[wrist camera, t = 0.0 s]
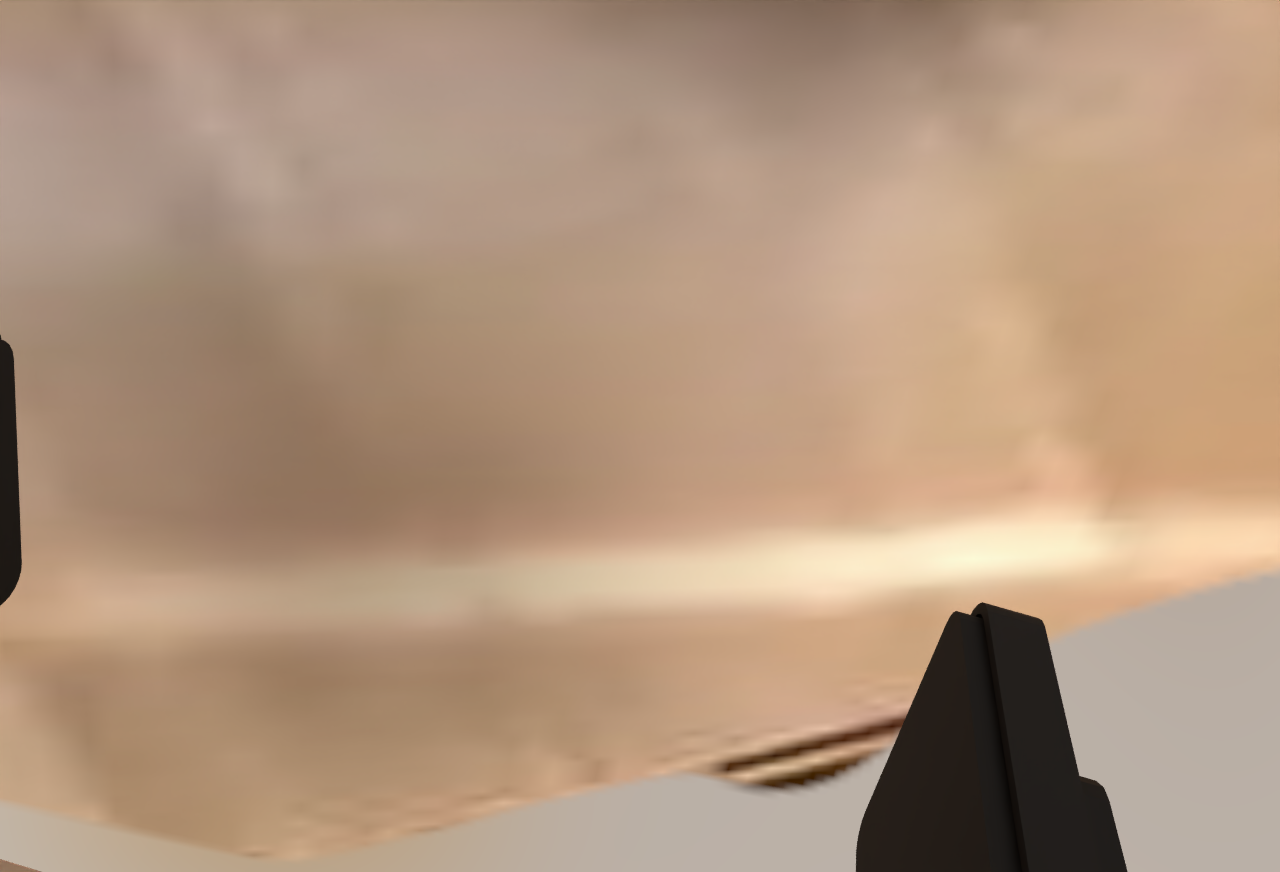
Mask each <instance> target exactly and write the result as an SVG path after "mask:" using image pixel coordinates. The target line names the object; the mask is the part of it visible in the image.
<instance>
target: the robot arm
mask: <svg viewBox="0 0 1280 872" xmlns="http://www.w3.org/2000/svg"><path fill="white" fill-rule="evenodd" d="M21 565H22V559H21V533H20V507H19V481H18V455H17V429H16V403H15V377H14V357H13V351H12V349H11V347H10V345H9V344H8V343H7V342H5V341H4V340H1V335H0V605H2V604H3V603H4V602H5V601H6V600H7V599H8V597H9V596H10V595H11V593H12V592H13V590H14V589H15V587H16V584H17V582H18V580H19V577H20V573H21ZM0 872H40V871H37V870H34V869H31V868H27V867H24V866H21V865H17V864H14V863H11V862H8V861H5V860H1V859H0ZM856 872H1127V869H1126V864H1125V860H1124V856H1123V853H1122V849H1121V845H1120V841H1119V837H1118V833H1117V829H1116V825H1115V821H1114V817H1113V813H1112V809H1111V806H1110V802H1109V799H1108V797H1107V794H1106V792H1105V789H1104V787H1103V786H1101V785H1100V784H1099V783H1098V782H1097V781H1095V780H1091V779H1088V778H1084V777H1081V776H1079V772H1078V768H1077V764H1076V760H1075V755H1074V751H1073V747H1072V742H1071V738H1070V734H1069V729H1068V725H1067V720H1066V716H1065V712H1064V708H1063V703H1062V699H1061V695H1060V690H1059V686H1058V681H1057V677H1056V673H1055V668H1054V664H1053V660H1052V655H1051V651H1050V646H1049V642H1048V638H1047V633H1046V629H1045V626H1044V623H1043V621H1042V620H1040V619H1039V618H1036V617H1032V616H1029V615H1025V614H1022V613H1018V612H1014V611H1011V610H1007V609H1004V608H1000V607H997V606H993V605H990V604H986V603H983V602H982V603H980V604H978V605H977V606H976V607H975V609H974V610H973V611H972V613H971V615H969V614H965V613H962V612H958V611H955V612H953V614H952V615H951V616H950V618H949V620H948V622H947V624H946V626H945V628H944V630H943V633H942V635H941V637H940V640H939V642H938V644H937V647H936V649H935V651H934V654H933V656H932V658H931V661H930V663H929V665H928V668H927V670H926V672H925V674H924V677H923V679H922V681H921V684H920V686H919V688H918V691H917V693H916V695H915V698H914V700H913V702H912V705H911V707H910V709H909V712H908V714H907V716H906V719H905V721H904V723H903V725H902V728H901V730H900V732H899V735H898V737H897V739H896V742H895V744H894V746H893V749H892V751H891V753H890V756H889V758H888V760H887V763H886V765H885V767H884V769H883V772H882V774H881V776H880V779H879V781H878V783H877V786H876V788H875V790H874V793H873V795H872V797H871V800H870V802H869V804H868V807H867V809H866V811H865V814H864V817H863V820H862V823H861V827H860V831H859V835H858V841H857V850H856Z"/></svg>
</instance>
